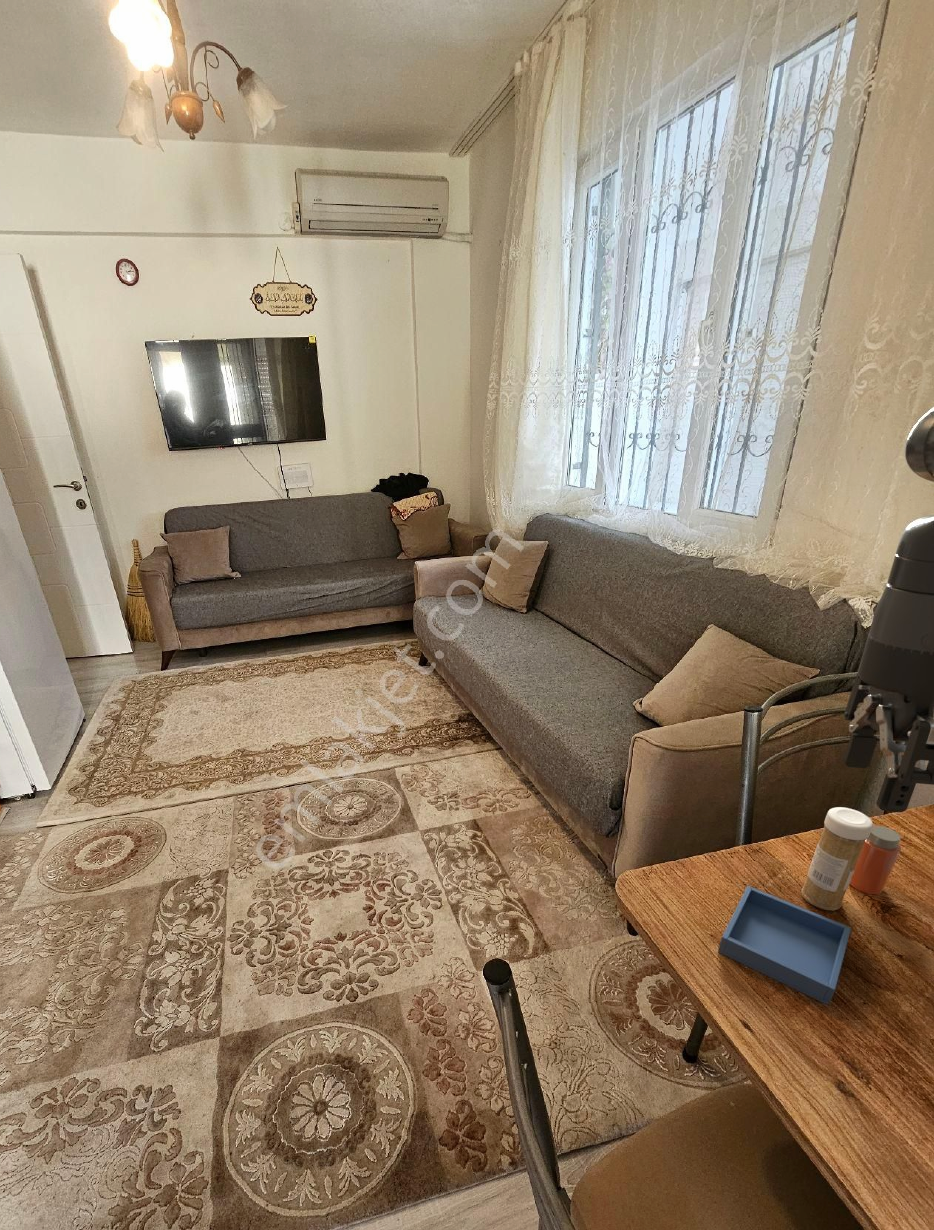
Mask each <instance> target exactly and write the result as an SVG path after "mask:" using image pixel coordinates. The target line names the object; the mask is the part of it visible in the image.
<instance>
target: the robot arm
mask: <svg viewBox="0 0 934 1230" xmlns="http://www.w3.org/2000/svg"><path fill="white" fill-rule="evenodd" d="M908 434H909V435H908V437H907V439H906V442H905V446H904V459H905V461H906V464H907V466H908V467H909V469H910V470H911V472H913V473H914V474H916V475H917V476H918V477H920V478H922V479H924V480H927V481H929V482H933V483H934V406H933V407H932V408H931V409H930V410H928V411H927V412H926V413H925V414H924V415H923V416H922V417H920V419H919V420H918V421H917V422H916V423H915V425H914V426H913V428H912V429H911V431H910V432H909V433H908ZM885 584H886V585H885V588H884V590H883V592H882V595H881V597H880V598H879V601H878V603H877V605H876V608H875V610H874V614H873V617H872V621H871V624H870V628H869V631H868V634H867V638H866V641H865V642H866V643H865V646H864V648H863V651H862V656H861V659H860V663H859V666H858V671H857V673H856V676H855V679H854V682H853V685H852V689H851V691H850V695H849V698H848V701H847V704H846V707H845V710H844V713H843V717H844V720H845V721H849V725H848V731H849V733H851V734H850V737H849V740H848V744H847V747H846V751H845V753H844V757H843V763H844V764H845V765H846V767H849V768H854V769H855V768H857V769H866V768H869V767H870V765H871V762H872V760H873V756H874V753H875V751H876V747H877V743H878V741H879V749H880V752H881V753H882V754H883V755H885V756H886V772H887V773H886V774H885V776H884V779H883V782H882V784H881V788H880V790H879V793H878V797H877V800H876V802H875V804H876V806H877V807H878V808H879V809H880V811H883V812H893V813H904V812H906V811H907V809H908V807H909V805H910V802H911V799H912V797H913V793H914V791H915V788H916V785H917V784H919V785H933V786H934V514H933V515H927V516H923V517H920V518H917V519H914V520H913V521H912V522H910V523H909V524H908V525H907V526H906V527H905V529H904V531H903V532H902V534H901V537H900V539H899V542H898V544H897V546H896V551H895V554H894V558H893V562H892V565H891V568H890V571H889V575H888V579H887V583H885ZM861 703H862V704H861ZM859 704H861V705H860V706H859ZM858 706H859V707H858ZM877 735H878V736H879V737H878V736H877ZM897 742H903V743H906V744H898V743H897ZM900 755H901V756H902V759H901V762H900ZM926 761H927V765H926Z"/></svg>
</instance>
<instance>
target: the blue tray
mask: <svg viewBox="0 0 934 1230" xmlns="http://www.w3.org/2000/svg"><path fill="white" fill-rule="evenodd" d="M851 931H852V927H850V926H849V925H845V924H843V923H841V922H838V921H835V920H833V919H830V918H828V917H826V916H824V915H821V914H819V913H816V912H813V911H812V910H809V909H806V908H804V907H801V906H800V905H799V906H798V905H796V904H795V903H791V902H789V901H787V900H784V899H782V898H779V897H777V896H774V895H772V894H770V893H767V892H765V891H763V890H760V889H757V888H755V887H752V886H750V885H746V888H745V890H744V891H743V894H742V895H741V898H740V899H739V901H738V904H737V905H736V908H735V909H734V912H733V914H732V915H731V918H730V920H729V922H728V924H727V926H726V928H725V930H724V932H723V933H722V935H721V939H720V943H719V946H718V950H717V952H718V953H719V954H721V955H723V956H725V957H727V958H730V959H732V960H734V961H736V962H738V963H740V964H742V965H743V966H746V967H748V968H750V969H752V970H754V971H757V972H759V973H760V974H762V975H764V976H767V977H769V978H771V979H772V980H775V981H777V982H779V983H781V984H783V985H785V986H787V987H789V988H791V989H793V990H795V991H797V992H799V993H802V994H804V995H806V996H808V997H811V999H814V1000H816V1001H818V1002H820V1003H822V1004H824V1005H826V1006H829V1005H830V1004H831V1001H832V999H833V996H834V994H835V992H836V989H837V984H838V982H839V981H838V980H839V977H840V973H841V970H842V965H843V962H844V958H845V954H846V950H847V947H848V943H849V938H850V934H851Z"/></svg>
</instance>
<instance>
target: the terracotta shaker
mask: <svg viewBox="0 0 934 1230" xmlns="http://www.w3.org/2000/svg"><path fill="white" fill-rule="evenodd" d="M901 839H902V837H901V835H900V834H899V833H898V832H897V831H895V830H894V829H891V828H889V827H886V826H882V825H873V827H872V830H871V833H870V835H869V837H868V838H867V839H866V840H865V842H864V845H863V847H862V851H861V853H860V855H859V858H858V861H857V864H856V866H855V871H854V873H853V876H852V879H851V881H850V884H849V886H851V887H852V888H853V889H855V890H858V891H859V892H862V893H865V894H868V895H880V894H882V893H883V892H884V890H885V888H886V885H887V883H888V880H889V878H890V876H891V873H892V871H893V869H894V866H895V864H896V863H897V859H898V857H899V855H900V852H901V850H902V845H901V844H900V842H901Z"/></svg>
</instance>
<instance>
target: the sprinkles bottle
mask: <svg viewBox="0 0 934 1230" xmlns="http://www.w3.org/2000/svg"><path fill="white" fill-rule="evenodd" d="M823 824H824V825H823V829H822V833H821V836H820V838H819V841H817V845H816V849H815V850H814V854H813V856H812V859H811V862H810V865H809V869H808V871H807V876H806V879H805V882H804V885H803V886H802V888H801V891H800V893H801V896H802V898H803V899H804V900H805V901H806V902H807V903H809V904H810V905H812V906H814V907H816V908H818V909H821V910H824V911H831V912H834V911H837V910H839V909H841V907H842V906H843V900H844V897H845V895H846V892H847V890H848V888H849V887H850V881H851V879H852V876H853V873H854V871H855V866H856V864H857V861H858V858H859V855H860V853H861V851H862V847H863V845H864V842H865V840H866V839H867V838H868V837H869V835H870V833H871V830H872V827H873V826H874V823H873V821H872V819H871V818H870V817H869V816H867V815H866V814H864V812H861V811H859V810H856V809H854V808H853V809H852V808H849V807H843V806H842V807H841V806H839V807H838V806H837V807H832V808H830V809H829V810H828V811H827V813H826V815H825V819H824V822H823Z"/></svg>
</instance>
